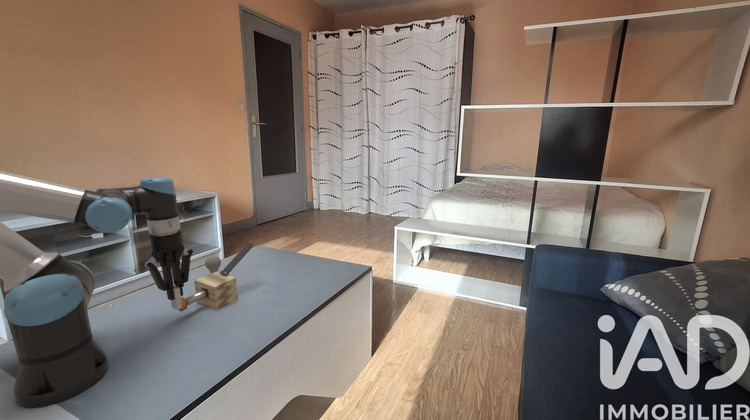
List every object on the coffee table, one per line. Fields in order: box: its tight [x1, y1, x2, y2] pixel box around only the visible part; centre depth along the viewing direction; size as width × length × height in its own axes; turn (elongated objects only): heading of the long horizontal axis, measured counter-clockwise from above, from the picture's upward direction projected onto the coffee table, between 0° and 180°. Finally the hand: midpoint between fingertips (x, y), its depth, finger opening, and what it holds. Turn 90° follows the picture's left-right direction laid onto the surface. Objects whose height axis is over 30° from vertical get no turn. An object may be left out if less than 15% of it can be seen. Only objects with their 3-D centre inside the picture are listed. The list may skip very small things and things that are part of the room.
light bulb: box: [204, 255, 222, 274], centre depth 122 cm, size 6×6×10 cm
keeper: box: [219, 242, 255, 276], centre depth 113 cm, size 15×3×1 cm
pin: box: [178, 289, 209, 312], centre depth 102 cm, size 13×4×4 cm, turn 152°
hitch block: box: [193, 271, 238, 311], centre depth 107 cm, size 8×10×8 cm
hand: (177, 307), depth 95 cm, fingers closed
